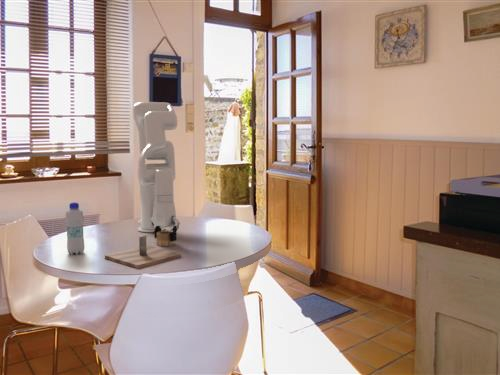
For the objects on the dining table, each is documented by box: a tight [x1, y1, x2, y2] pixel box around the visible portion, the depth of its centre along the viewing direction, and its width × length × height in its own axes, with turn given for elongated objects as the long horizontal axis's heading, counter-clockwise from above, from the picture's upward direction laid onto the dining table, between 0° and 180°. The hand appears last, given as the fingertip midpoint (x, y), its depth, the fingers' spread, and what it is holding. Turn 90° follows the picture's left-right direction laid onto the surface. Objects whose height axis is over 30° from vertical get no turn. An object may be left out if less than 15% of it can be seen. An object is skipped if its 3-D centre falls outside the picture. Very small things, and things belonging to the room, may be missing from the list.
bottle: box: [64, 202, 85, 256], centre depth 186 cm, size 7×7×20 cm
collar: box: [156, 230, 175, 247], centre depth 202 cm, size 7×7×5 cm
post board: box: [104, 235, 182, 270], centre depth 181 cm, size 20×20×8 cm
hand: (165, 239), depth 202 cm, fingers open, 9 cm apart
